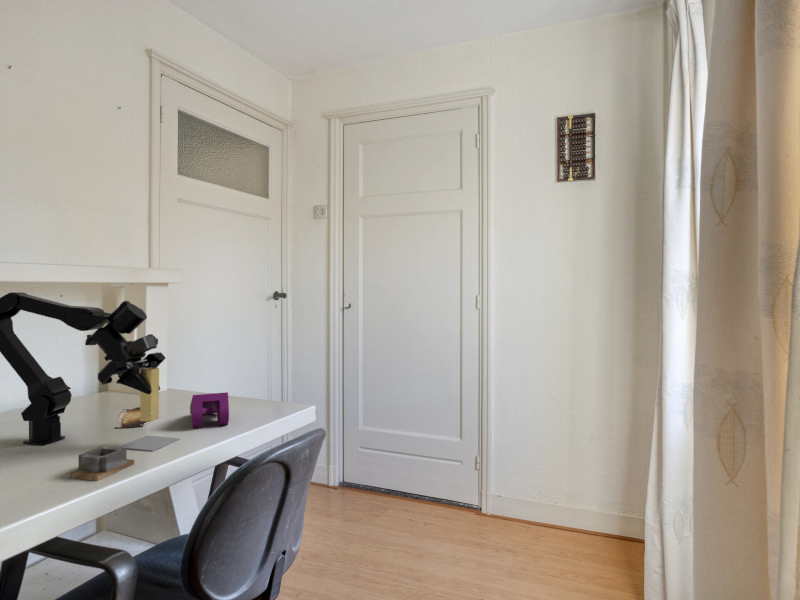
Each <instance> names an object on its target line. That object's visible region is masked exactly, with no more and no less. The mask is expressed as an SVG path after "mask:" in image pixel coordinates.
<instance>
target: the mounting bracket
mask: <svg viewBox="0 0 800 600" xmlns="http://www.w3.org/2000/svg"><path fill="white" fill-rule="evenodd" d="M229 405H230V404H229V392H215V393H204V394H201V393H200V394H193V395H192V397H191V401H190V405H189V410H190V411H189V413H190V415H191V428H192V429H198V428H199V427H200V428H202V427H203V421H204V420H203V417H204V416H205V415H204V414H208V415H215V414H216V417H217V424H219V425H218V426H226V425H229V420H230V408H229V407H230V406H229ZM214 413H215V414H214Z"/></svg>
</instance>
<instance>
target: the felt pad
mask: <svg viewBox="0 0 800 600" xmlns="http://www.w3.org/2000/svg"><path fill="white" fill-rule="evenodd" d="M180 440H181V438H178V437H169V436H157V435H144V436H142V437H140V438H137V439H134V440H132V441H129V442H127V443H125V444H121V445H119V446H118V448H123V449H125V450H132V451H133V450H135V451H142V450H143V451H144V452H152V451H153V452H155V451H158V450H160V449H163V448H164V447H167V446H169V445H171V444H173V443H175V442H178V441H180ZM159 448H160V449H159ZM157 449H158V450H157ZM143 451H142V452H143Z"/></svg>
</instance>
